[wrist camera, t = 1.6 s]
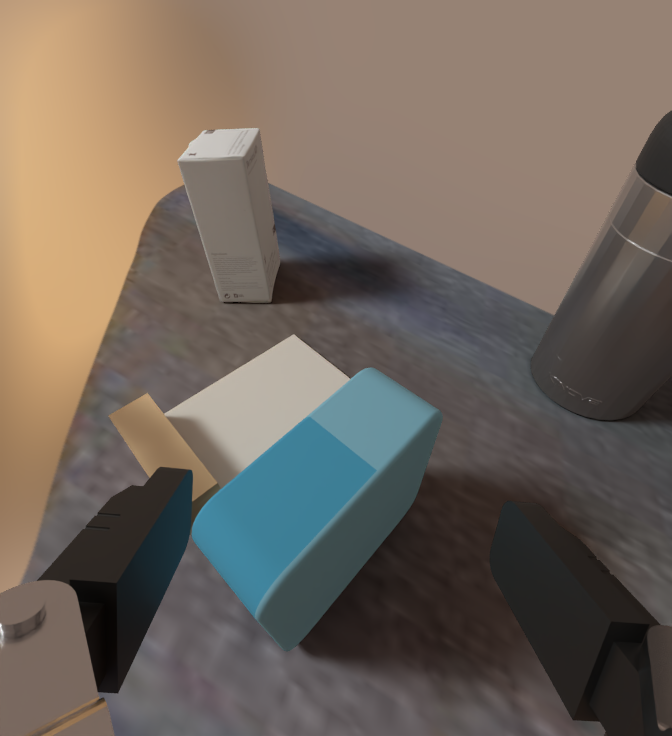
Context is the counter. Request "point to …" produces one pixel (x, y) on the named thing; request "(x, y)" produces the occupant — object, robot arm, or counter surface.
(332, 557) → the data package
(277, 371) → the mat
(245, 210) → the skincare box
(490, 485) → the counter surface
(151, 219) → the counter surface
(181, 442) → the ledge
